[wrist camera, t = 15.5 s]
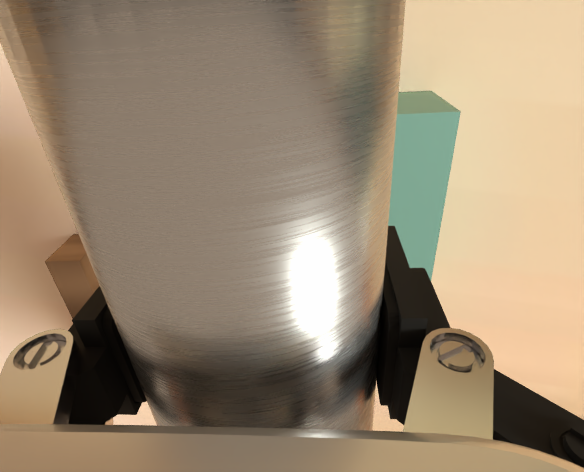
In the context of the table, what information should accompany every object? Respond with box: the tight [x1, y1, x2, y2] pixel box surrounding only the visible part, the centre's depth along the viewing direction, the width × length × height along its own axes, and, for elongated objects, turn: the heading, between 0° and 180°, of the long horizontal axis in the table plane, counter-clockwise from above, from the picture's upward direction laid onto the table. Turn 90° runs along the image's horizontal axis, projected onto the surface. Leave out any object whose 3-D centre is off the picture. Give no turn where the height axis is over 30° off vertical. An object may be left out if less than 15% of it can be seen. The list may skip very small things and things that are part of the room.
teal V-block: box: [388, 91, 461, 281], centre depth 23 cm, size 14×11×5 cm
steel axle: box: [0, 0, 406, 431], centre depth 10 cm, size 18×6×6 cm, turn 4°
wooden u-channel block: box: [45, 234, 100, 318], centre depth 29 cm, size 10×13×4 cm
